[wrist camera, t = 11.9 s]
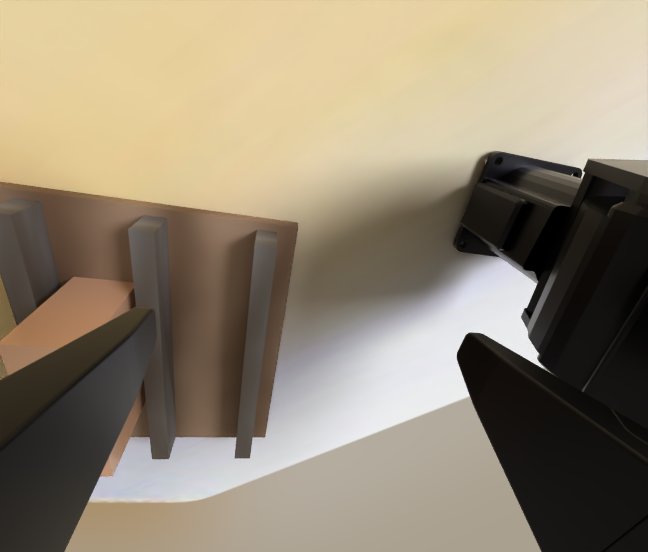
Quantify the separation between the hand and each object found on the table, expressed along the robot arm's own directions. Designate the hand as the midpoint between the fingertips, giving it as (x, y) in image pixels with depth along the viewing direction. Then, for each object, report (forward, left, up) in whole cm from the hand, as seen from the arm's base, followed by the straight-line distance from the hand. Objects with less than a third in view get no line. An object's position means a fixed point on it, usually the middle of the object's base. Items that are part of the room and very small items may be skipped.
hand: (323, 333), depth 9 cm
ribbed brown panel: (+8, +11, -12) cm, 18 cm away
